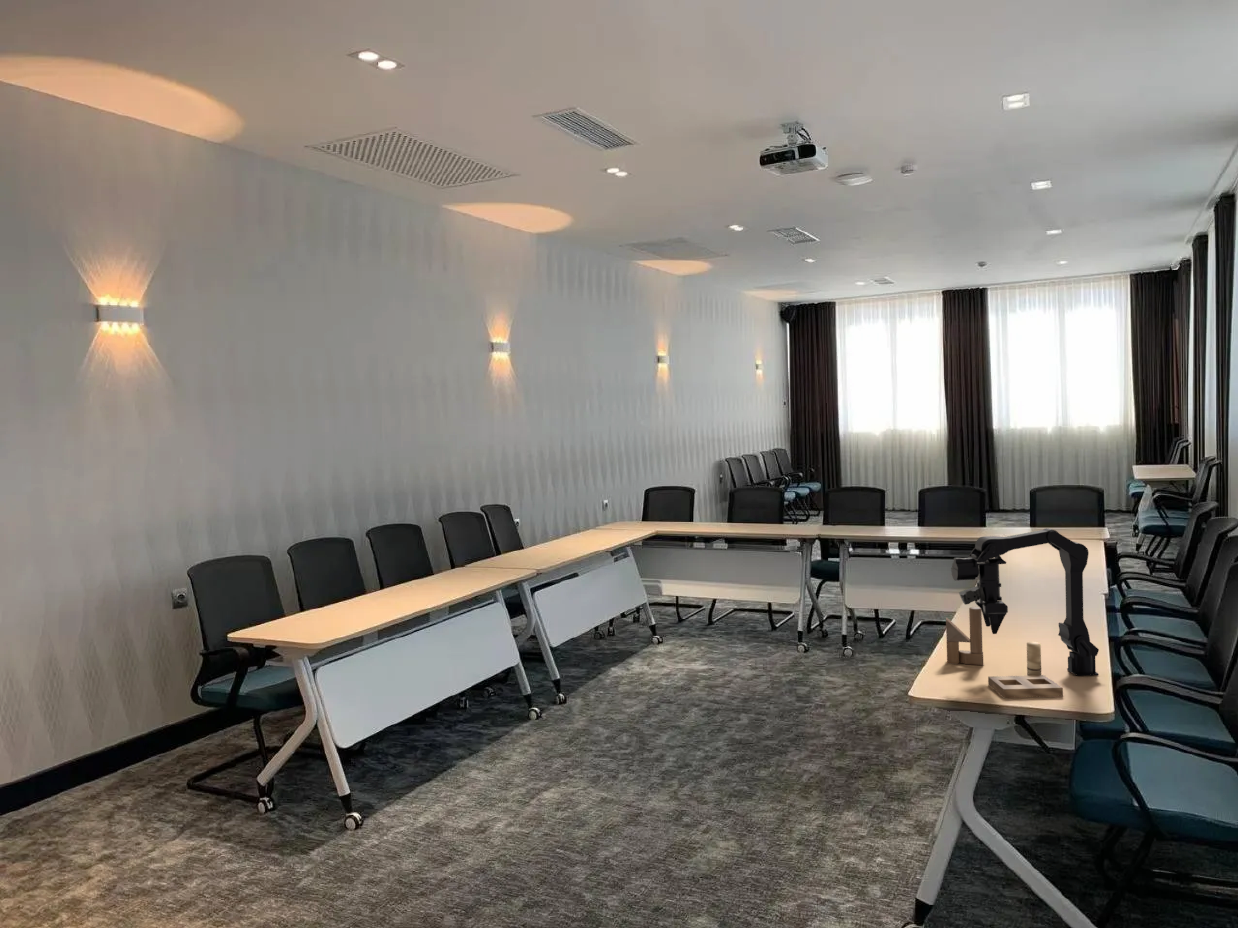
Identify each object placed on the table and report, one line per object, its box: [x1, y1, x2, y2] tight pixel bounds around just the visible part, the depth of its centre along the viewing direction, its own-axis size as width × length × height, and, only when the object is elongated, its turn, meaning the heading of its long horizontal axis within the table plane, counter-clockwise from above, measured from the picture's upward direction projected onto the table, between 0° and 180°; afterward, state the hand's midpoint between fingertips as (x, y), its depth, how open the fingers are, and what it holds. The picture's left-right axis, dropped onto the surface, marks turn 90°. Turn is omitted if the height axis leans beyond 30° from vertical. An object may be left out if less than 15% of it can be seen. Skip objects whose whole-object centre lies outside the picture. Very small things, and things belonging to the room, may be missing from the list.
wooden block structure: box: [945, 606, 984, 666], centre depth 277 cm, size 4×11×18 cm, turn 68°
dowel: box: [1026, 641, 1042, 675], centre depth 260 cm, size 4×4×10 cm
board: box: [987, 674, 1064, 699], centre depth 248 cm, size 16×12×2 cm
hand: (991, 630), depth 262 cm, fingers open, 9 cm apart
